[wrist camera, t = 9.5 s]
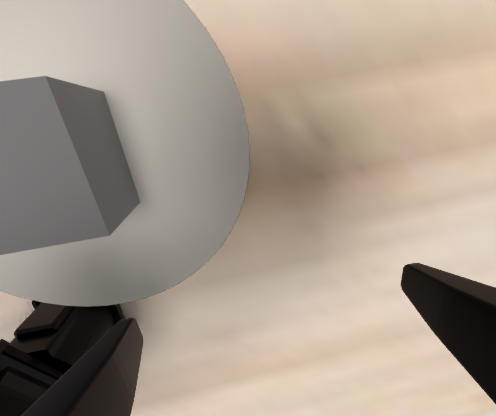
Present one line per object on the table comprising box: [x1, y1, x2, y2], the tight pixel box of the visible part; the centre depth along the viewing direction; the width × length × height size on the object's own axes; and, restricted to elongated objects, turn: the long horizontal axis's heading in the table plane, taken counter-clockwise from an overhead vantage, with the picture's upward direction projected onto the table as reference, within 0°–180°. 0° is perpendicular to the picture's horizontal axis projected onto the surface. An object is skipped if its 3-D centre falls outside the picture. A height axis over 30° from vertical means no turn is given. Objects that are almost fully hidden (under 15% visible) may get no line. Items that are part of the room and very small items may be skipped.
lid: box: [0, 0, 250, 307], centre depth 7 cm, size 12×12×3 cm
